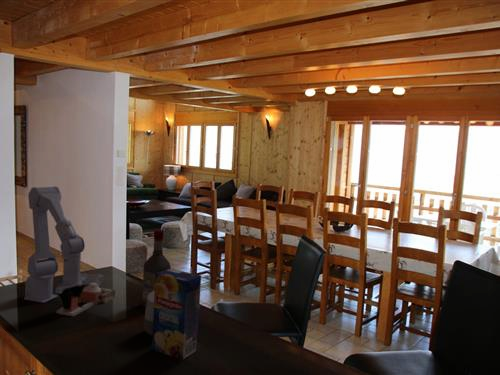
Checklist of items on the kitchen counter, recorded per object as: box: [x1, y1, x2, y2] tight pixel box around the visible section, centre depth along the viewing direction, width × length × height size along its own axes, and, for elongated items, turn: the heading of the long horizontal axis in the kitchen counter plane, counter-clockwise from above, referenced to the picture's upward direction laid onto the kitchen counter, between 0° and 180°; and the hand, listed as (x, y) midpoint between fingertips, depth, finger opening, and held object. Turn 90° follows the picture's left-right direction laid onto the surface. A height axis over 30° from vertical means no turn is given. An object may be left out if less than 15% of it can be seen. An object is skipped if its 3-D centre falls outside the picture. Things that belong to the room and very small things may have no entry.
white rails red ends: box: [56, 290, 99, 317], centre depth 160 cm, size 8×14×5 cm, turn 166°
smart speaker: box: [143, 291, 155, 337], centre depth 143 cm, size 10×9×14 cm
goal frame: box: [83, 286, 116, 304], centre depth 172 cm, size 12×7×3 cm, turn 76°
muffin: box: [86, 283, 101, 298], centre depth 170 cm, size 6×6×7 cm
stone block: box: [80, 272, 105, 287], centre depth 188 cm, size 12×5×10 cm
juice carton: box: [151, 268, 202, 361], centre depth 132 cm, size 12×8×24 cm, turn 62°
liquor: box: [141, 229, 172, 309], centre depth 167 cm, size 9×9×30 cm
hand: (70, 306), depth 157 cm, fingers open, 4 cm apart
